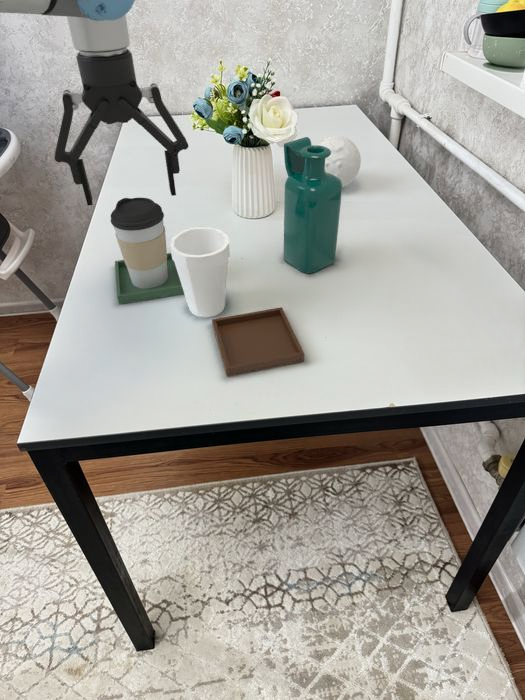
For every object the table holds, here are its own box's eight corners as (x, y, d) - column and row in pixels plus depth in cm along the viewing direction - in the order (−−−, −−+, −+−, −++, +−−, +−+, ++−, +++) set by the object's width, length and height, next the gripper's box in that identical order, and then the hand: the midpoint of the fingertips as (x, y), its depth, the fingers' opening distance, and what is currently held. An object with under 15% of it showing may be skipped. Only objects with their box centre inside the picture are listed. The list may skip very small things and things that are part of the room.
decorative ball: (305, 194, 119) (308, 144, 111) (313, 175, 128) (316, 127, 120) (355, 199, 117) (361, 148, 109) (359, 178, 126) (365, 130, 117)
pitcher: (339, 262, 97) (351, 149, 82) (307, 277, 93) (313, 161, 78) (306, 242, 103) (312, 133, 88) (275, 255, 99) (275, 144, 84)
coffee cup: (183, 273, 94) (172, 199, 84) (151, 297, 88) (135, 221, 78) (148, 260, 97) (133, 188, 87) (115, 282, 92) (95, 208, 82)
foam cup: (238, 293, 90) (234, 229, 81) (228, 325, 83) (222, 259, 74) (187, 289, 91) (178, 225, 82) (173, 320, 84) (162, 254, 75)
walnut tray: (227, 376, 74) (226, 368, 73) (212, 327, 83) (211, 319, 81) (303, 361, 76) (304, 353, 75) (281, 314, 85) (281, 307, 84)
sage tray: (119, 304, 88) (117, 296, 87) (116, 268, 96) (114, 260, 95) (186, 293, 90) (185, 285, 89) (178, 259, 99) (177, 251, 97)
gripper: (189, 39, 72) (202, 179, 87) (10, 50, 68) (55, 196, 82) (197, 50, 67) (209, 197, 81) (3, 62, 62) (52, 216, 77)
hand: (132, 197), depth 82 cm, fingers open, 13 cm apart
